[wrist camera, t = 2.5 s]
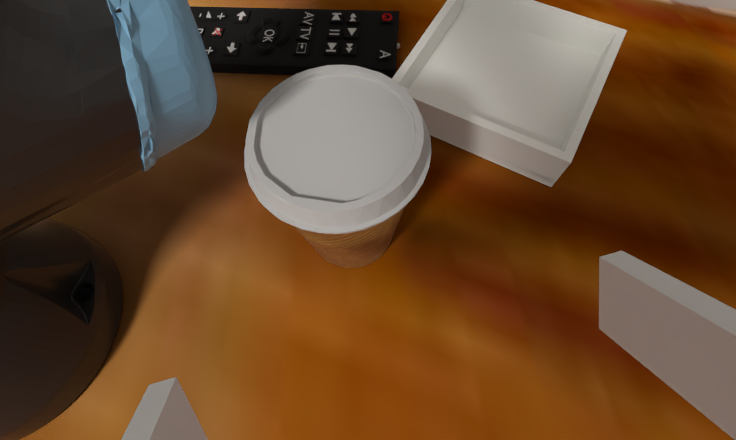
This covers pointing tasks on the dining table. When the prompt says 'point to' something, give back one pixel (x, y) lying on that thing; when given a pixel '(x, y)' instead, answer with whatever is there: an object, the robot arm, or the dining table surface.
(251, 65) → the remote control
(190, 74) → the robot arm
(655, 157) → the dining table surface
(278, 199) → the disposable coffee cup
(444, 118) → the tray
